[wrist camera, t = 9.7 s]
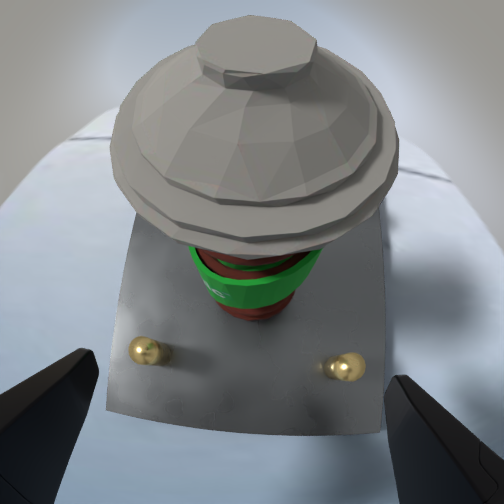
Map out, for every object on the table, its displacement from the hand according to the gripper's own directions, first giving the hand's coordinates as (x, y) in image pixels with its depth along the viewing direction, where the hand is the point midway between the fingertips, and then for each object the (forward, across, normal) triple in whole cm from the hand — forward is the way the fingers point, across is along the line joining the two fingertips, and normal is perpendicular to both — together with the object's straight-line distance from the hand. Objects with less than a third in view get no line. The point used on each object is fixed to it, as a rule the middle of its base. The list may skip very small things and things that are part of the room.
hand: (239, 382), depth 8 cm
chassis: (+11, 0, +3) cm, 11 cm away
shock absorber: (+10, 0, +2) cm, 10 cm away
